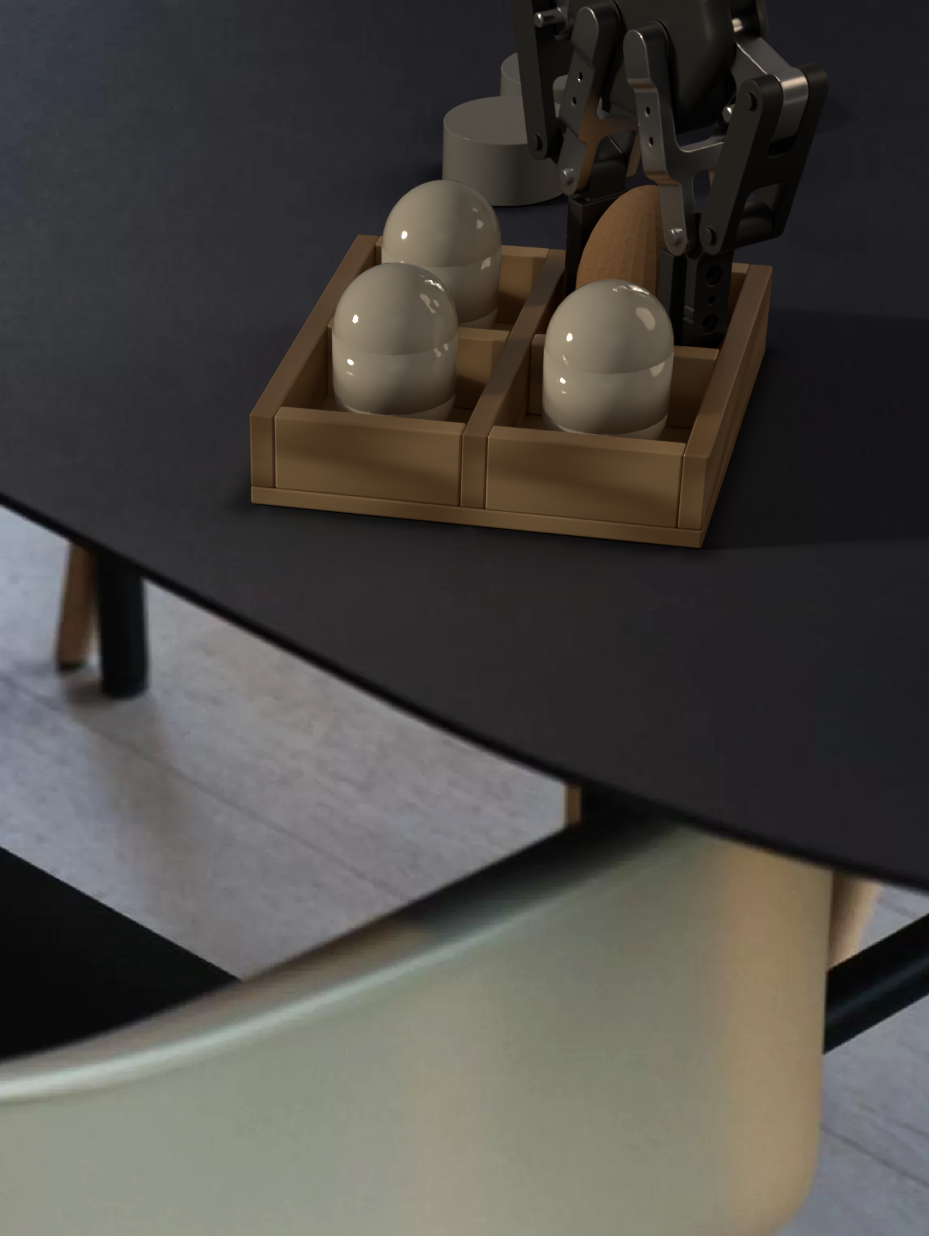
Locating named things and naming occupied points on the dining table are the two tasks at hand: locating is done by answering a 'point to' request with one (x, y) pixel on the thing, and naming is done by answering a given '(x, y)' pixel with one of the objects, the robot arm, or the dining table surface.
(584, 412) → the cream egg
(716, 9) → the robot arm
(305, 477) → the egg tray
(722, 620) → the dining table surface
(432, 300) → the cream egg
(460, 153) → the grey short cylinder
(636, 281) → the egg
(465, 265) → the cream egg
